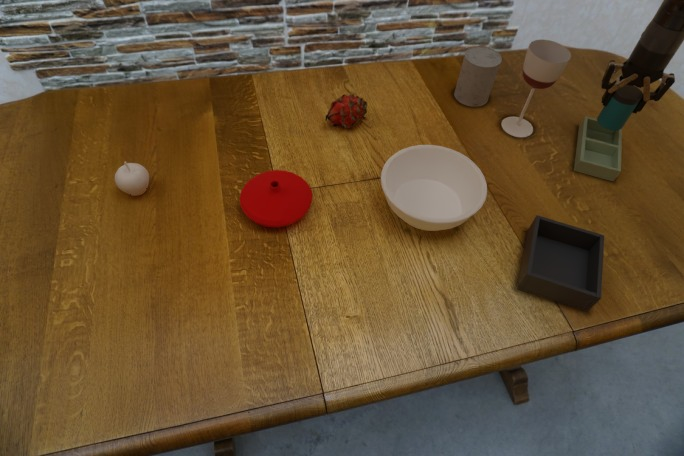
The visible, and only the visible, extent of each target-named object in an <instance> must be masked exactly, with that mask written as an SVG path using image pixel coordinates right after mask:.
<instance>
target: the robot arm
mask: <svg viewBox="0 0 684 456" xmlns="http://www.w3.org/2000/svg"><path fill="white" fill-rule="evenodd" d="M683 42H684V0H663V1H662V2H661V4H660V6H659V8H658V10H657V11H656V12H655V14H654V16H653V18H652V19H651V21H650V22H649V23H648V24H647V26H646V27H645V29H644V31H642V33H641V35H640V38H639V39H638V41H637V43H636V45H634V48H633V50H632V51H631V53H630V55H629V57H628V58H627V60H625V61H624V62H622V63H621V62H616V60H614V59H611V60H609V62H608V64H607V67H606V69H605V72H604V74H603V76H602V79H601V86H600V87H601V89H602V90H605V91H604V93H603V95H602V96H601V103H602V106H603V107H604V106H606V105H607V103H608V102H609V100H610V98H611V97H612V95H613V92H614V91H616V90H617V89H619V88H622V87H623V86H625V85H626V84H627V85H630V86H635V87H637V88H639V89H642V88H643V97H642V99H641V100H640V102H639V103H638V105H637V106H636V108H635V109H634V111H633V112H632V114H637V113H640V112H642V110H643V109H644V107H645V106H646V104H647V103H648V102H649V101H654V102H658V101H660V100H661V99H662V97H663V96H664V95H665V94H666V93H667V92H668V91H669V89H670V88H671V87H672V86H673V85H674V84H675V83H676V75H675V74H674V73H672V72H671V73H666V72H665V70H666V68H667V67H668V65H669V63H670V62H671V61H672V59H673V57H674V56H675V55H676V53H677V52H678V50H679V49H680V47H681V45H682V44H683ZM620 70H621V74H619V75H617V77H616V78H615V79H614V80H612V81H611V79H612V77H613V75H614V74H616V73H617V72H618V71H620ZM659 80H660V81H661V82H660V84H659V85H658V87H657V88H656V89H655V90H654V91H651V84H653V83H656V82H657V81H659Z"/></svg>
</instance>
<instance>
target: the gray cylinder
mask: <svg viewBox="0 0 684 456" xmlns="http://www.w3.org/2000/svg"><path fill="white" fill-rule="evenodd" d="M502 61H503V58H502V55H501V54H500V53H499V52H498V50H495V49H494V48H491V47H489V46H483V45H476V46H470V47H469V48H466V50H465V52H464V56H463V59H462V63H461V68H460V71H459V75H458V78H457V82H456V86H455V89H454V92H453V95H454V98H455V100H456V101H457V102H459V103H460V104H462V105H464V106H467V107H471V108H472V107H473V108H477V107H482V106H485V105H486V104H487V103H488V101H489V98H490V95H491V92H492V89H493V85H494V84H495V80H496V77H497V75H498V72H499V68H500V66H501V63H502Z"/></svg>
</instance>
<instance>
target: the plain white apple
mask: <svg viewBox="0 0 684 456" xmlns="http://www.w3.org/2000/svg"><path fill="white" fill-rule="evenodd" d="M114 182H115V185H116V187H117V188H118V189H119V190H120V191H122V192H123V193H126V194H128V195H130V194H131V195H130V196H133V197H138V196H141V195H143V194H145V192H146V191H147V190H148V188H149V184H150V174H149V171H148V169H146V167H145V166H144V165H142V164H140V163H137V162H127V161H123V165H121V166H120V167H118V169H117V170H116V172H115V173H114ZM146 188H147V189H146ZM143 191H144V192H143ZM142 192H143V193H142ZM139 193H141V194H139ZM135 194H137V195H135Z"/></svg>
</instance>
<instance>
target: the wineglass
mask: <svg viewBox="0 0 684 456" xmlns="http://www.w3.org/2000/svg"><path fill="white" fill-rule="evenodd" d="M571 58H572V53H571V52H570V50H569V49H568V48H567V47H566V46H565V45H563V44H561V43H559V42H556V41H553V40H549V39H535V40H532V41H531V42H530V43H529V45H528V48H527V50H526V53H525V57H524V61H523V66H522V77H523V79H524V82H525V83H526V84H527V85H528V86H529V87H531V89H530V92H529V94H528V96H527V99H526V101H525V103H524V106H523V108H522V109H521V112H520V115H519V116H513V115H512V116H508V117H505V118H503V119H502V121H501V123H500V124H501V128H502V130H503V131H504V132H505V133H506V134H508V135H510V136H513V137H515V138H528V137H529V136H531V135H532V134H533V133H534V127H533V125H532V124H531V122H530V121H528V120H527V119H526V118H524V116H525V114H526V112H527V109H528V107H529V105H530V102H531V100H532V99H533V95H534V93H535V91H536V90H543V89H544V90H545V89H548V88H550V87H552V86H554V85H555V83H556V82H557V81H558V79H559V78H560V77H561V76H562V75H563V72H564V71H565V69H566V68H567V66H568V64H569V62H570V60H571Z"/></svg>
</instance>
